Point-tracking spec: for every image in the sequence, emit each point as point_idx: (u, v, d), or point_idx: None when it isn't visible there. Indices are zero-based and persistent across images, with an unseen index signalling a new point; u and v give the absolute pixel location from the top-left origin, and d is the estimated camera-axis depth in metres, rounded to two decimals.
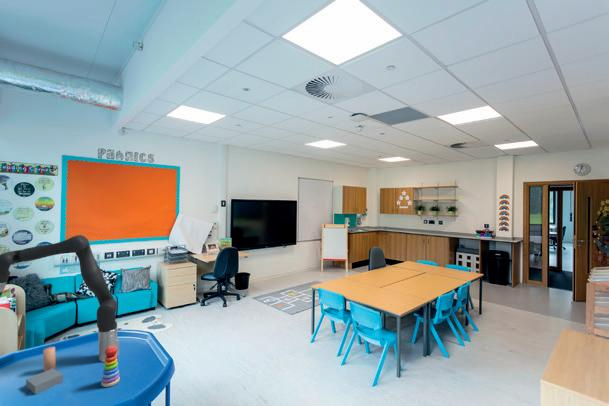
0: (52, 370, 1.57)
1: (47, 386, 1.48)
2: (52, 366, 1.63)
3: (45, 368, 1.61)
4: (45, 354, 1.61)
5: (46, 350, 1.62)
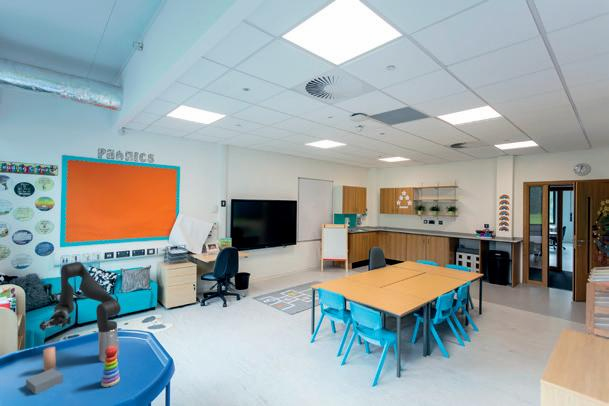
0: (52, 370, 1.57)
1: (47, 386, 1.48)
2: (52, 366, 1.63)
3: (45, 368, 1.61)
4: (45, 354, 1.61)
5: (46, 350, 1.62)
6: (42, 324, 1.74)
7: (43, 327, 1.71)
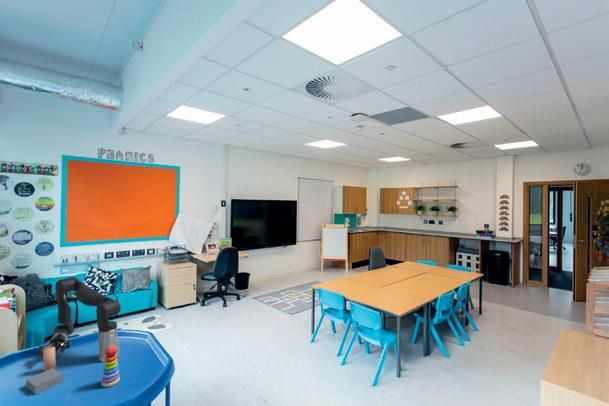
0: (52, 370, 1.57)
1: (47, 386, 1.48)
2: (52, 366, 1.63)
3: (45, 368, 1.61)
4: (45, 354, 1.61)
5: (46, 350, 1.62)
6: (41, 349, 1.70)
7: (41, 353, 1.66)
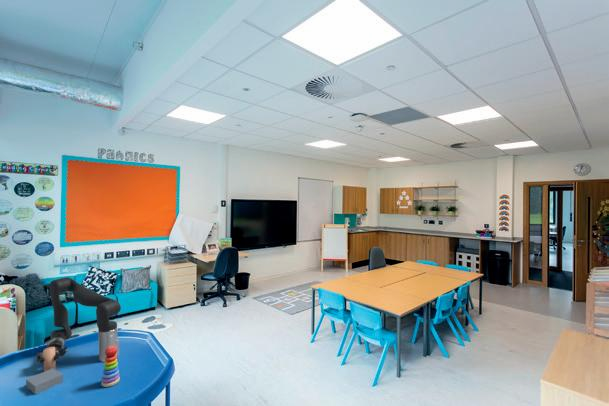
0: (52, 370, 1.57)
1: (47, 386, 1.48)
2: (52, 366, 1.63)
3: (45, 368, 1.61)
4: (45, 354, 1.61)
5: (46, 350, 1.62)
6: (40, 356, 1.64)
7: (41, 359, 1.60)
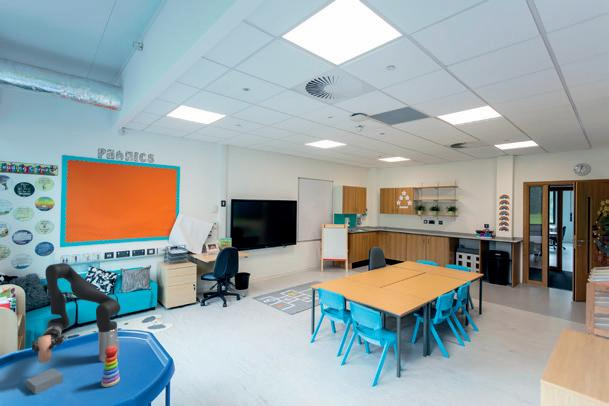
0: (52, 370, 1.57)
1: (47, 386, 1.48)
2: (47, 355, 1.53)
3: (40, 357, 1.52)
4: (40, 342, 1.51)
5: (41, 338, 1.52)
6: (34, 344, 1.54)
7: (35, 348, 1.50)
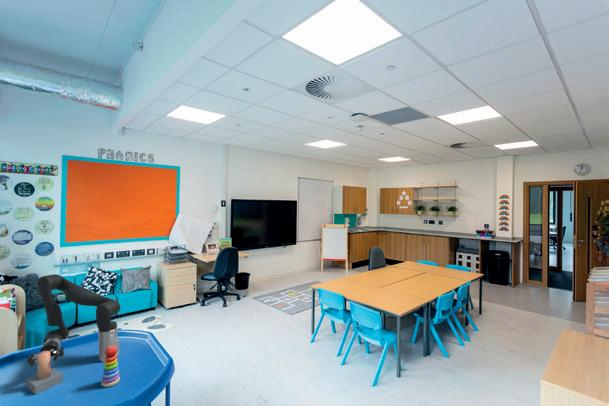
0: (52, 370, 1.57)
1: (47, 386, 1.48)
2: (47, 372, 1.51)
3: (39, 374, 1.49)
4: (39, 359, 1.49)
5: (40, 355, 1.50)
6: (30, 358, 1.52)
7: (31, 362, 1.48)
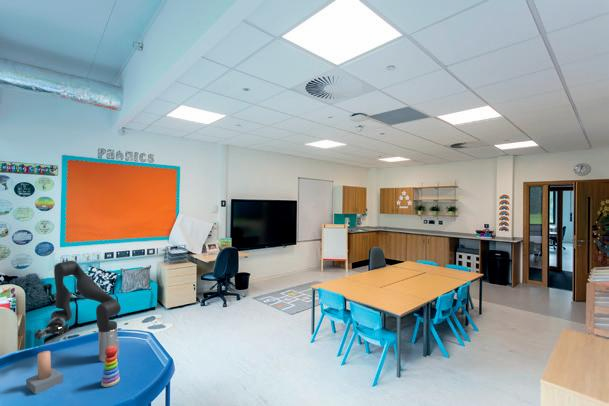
0: (52, 370, 1.57)
1: (47, 386, 1.48)
2: (47, 372, 1.51)
3: (39, 374, 1.49)
4: (39, 359, 1.49)
5: (40, 354, 1.50)
6: (38, 333, 1.65)
7: (39, 336, 1.61)
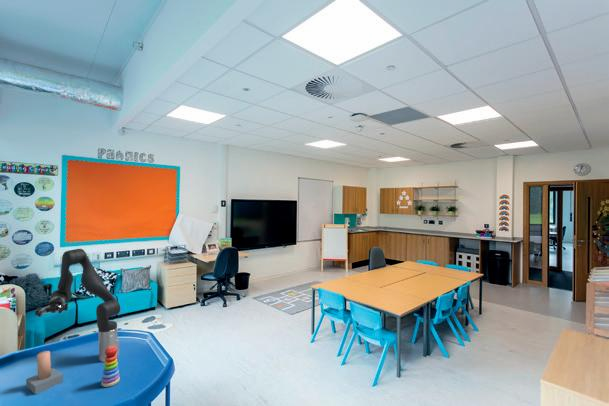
0: (52, 370, 1.57)
1: (47, 386, 1.48)
2: (47, 372, 1.51)
3: (39, 374, 1.49)
4: (39, 359, 1.49)
5: (40, 355, 1.50)
6: (38, 310, 1.68)
7: (39, 313, 1.65)
